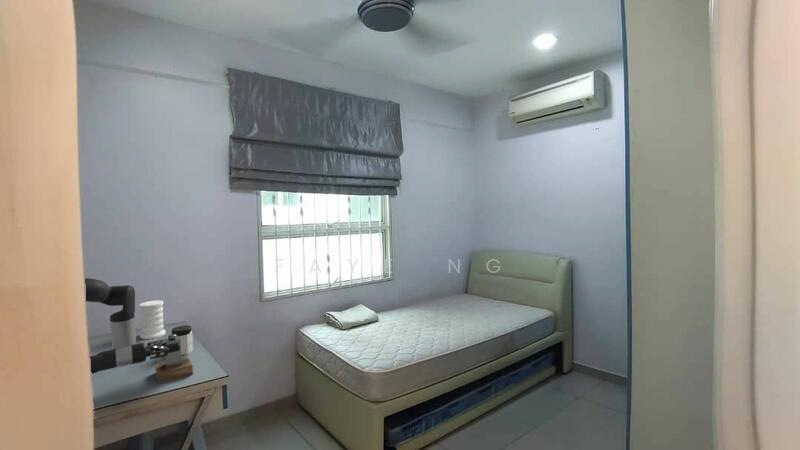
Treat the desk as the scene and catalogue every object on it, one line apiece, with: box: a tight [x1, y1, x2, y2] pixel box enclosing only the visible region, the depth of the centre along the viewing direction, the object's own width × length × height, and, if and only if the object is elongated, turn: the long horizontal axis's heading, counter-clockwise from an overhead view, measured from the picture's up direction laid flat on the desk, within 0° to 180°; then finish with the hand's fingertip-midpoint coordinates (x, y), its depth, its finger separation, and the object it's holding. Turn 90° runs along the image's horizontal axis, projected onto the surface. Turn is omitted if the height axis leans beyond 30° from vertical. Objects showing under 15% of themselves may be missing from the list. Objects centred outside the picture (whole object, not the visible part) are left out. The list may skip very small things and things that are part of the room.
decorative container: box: [139, 299, 166, 340], centre depth 196 cm, size 12×12×18 cm
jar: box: [171, 324, 194, 356], centre depth 173 cm, size 9×8×12 cm
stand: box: [155, 355, 194, 384], centre depth 152 cm, size 12×12×4 cm
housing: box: [164, 333, 182, 368], centre depth 151 cm, size 6×6×12 cm
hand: (178, 344), depth 152 cm, fingers open, 8 cm apart
